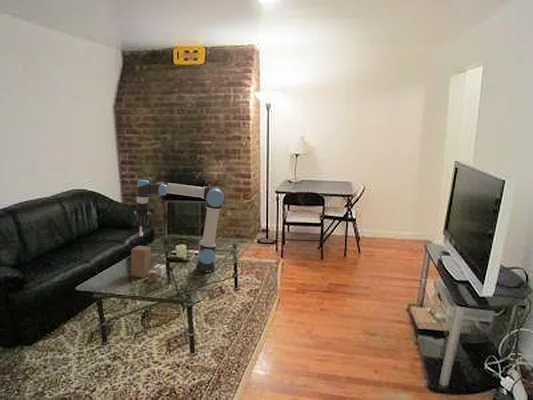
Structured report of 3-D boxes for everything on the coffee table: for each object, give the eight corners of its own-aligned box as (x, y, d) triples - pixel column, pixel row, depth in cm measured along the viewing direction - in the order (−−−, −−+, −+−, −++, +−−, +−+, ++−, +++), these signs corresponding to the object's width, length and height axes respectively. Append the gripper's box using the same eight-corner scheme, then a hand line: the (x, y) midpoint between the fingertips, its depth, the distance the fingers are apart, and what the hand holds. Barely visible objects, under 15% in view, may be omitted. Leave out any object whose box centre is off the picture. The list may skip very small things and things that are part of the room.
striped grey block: (165, 273, 270) (165, 264, 269) (161, 276, 263) (161, 268, 262) (158, 271, 271) (158, 263, 270) (153, 275, 264) (153, 266, 263)
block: (143, 278, 257) (144, 250, 254) (130, 276, 259) (130, 248, 255) (150, 273, 266) (151, 246, 263) (137, 271, 268) (138, 245, 265)
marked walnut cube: (157, 278, 259) (157, 269, 258) (157, 281, 253) (157, 273, 252) (148, 278, 258) (148, 270, 257) (147, 281, 252) (148, 273, 251)
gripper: (153, 202, 258) (152, 235, 262) (135, 200, 258) (134, 233, 262) (149, 204, 250) (148, 238, 254) (130, 202, 251) (129, 236, 254)
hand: (141, 235), depth 258 cm, fingers closed
